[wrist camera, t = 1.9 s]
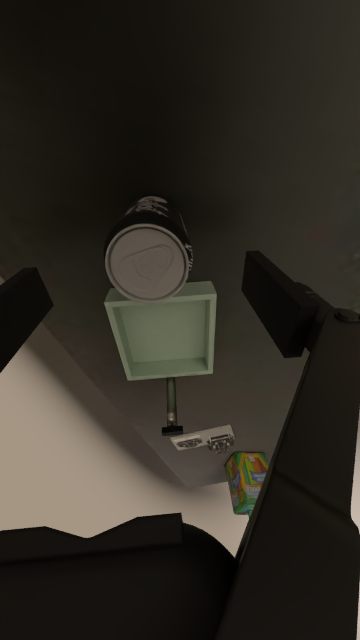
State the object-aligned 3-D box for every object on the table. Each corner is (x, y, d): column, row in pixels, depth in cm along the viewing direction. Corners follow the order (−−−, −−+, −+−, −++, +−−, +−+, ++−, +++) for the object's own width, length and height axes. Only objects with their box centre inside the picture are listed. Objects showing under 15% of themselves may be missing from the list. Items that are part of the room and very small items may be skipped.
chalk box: (264, 451, 61) (288, 521, 49) (252, 465, 66) (271, 531, 54) (233, 451, 60) (251, 523, 48) (223, 465, 65) (237, 533, 53)
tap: (160, 354, 36) (159, 422, 27) (177, 353, 37) (182, 420, 27) (163, 369, 39) (162, 437, 29) (178, 368, 39) (183, 435, 29)
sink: (109, 288, 29) (103, 302, 26) (211, 280, 29) (216, 293, 26) (130, 363, 37) (127, 380, 34) (208, 357, 38) (212, 373, 35)
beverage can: (112, 220, 24) (76, 259, 14) (158, 179, 22) (154, 191, 12) (150, 265, 27) (143, 322, 18) (193, 233, 25) (212, 277, 16)
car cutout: (230, 424, 51) (235, 444, 48) (234, 436, 55) (239, 456, 51) (170, 437, 53) (170, 457, 50) (178, 448, 57) (179, 468, 53)
